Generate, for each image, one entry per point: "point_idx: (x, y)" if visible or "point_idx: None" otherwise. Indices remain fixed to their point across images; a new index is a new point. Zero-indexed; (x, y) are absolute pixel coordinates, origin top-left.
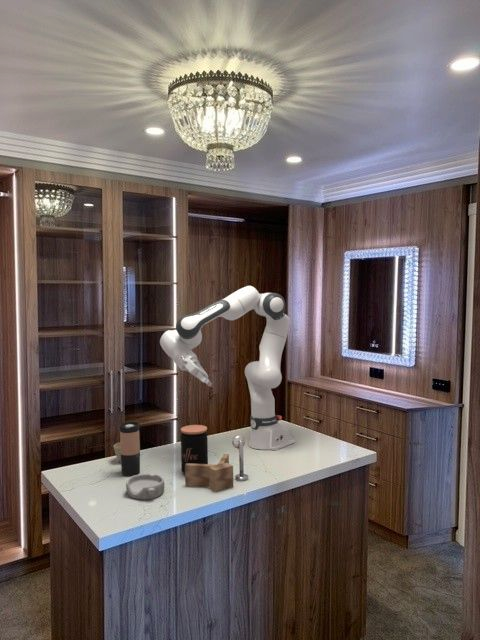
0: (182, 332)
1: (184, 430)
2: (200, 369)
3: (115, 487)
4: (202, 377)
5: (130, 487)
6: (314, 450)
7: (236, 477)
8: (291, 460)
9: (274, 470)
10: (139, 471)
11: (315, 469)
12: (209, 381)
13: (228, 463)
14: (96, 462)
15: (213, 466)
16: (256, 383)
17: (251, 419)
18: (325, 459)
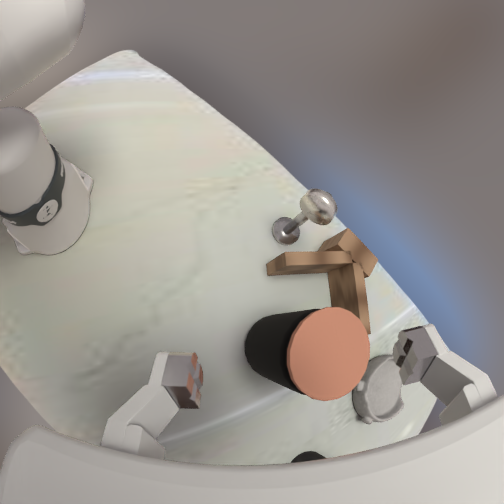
0: None
1: (359, 372)
2: (429, 469)
3: (364, 444)
4: (443, 359)
5: (389, 407)
6: (100, 110)
7: (296, 239)
8: (160, 143)
9: (225, 171)
10: (305, 453)
11: (208, 108)
12: (188, 378)
13: (340, 239)
14: None
15: (363, 268)
16: None
17: (35, 213)
18: (153, 94)
